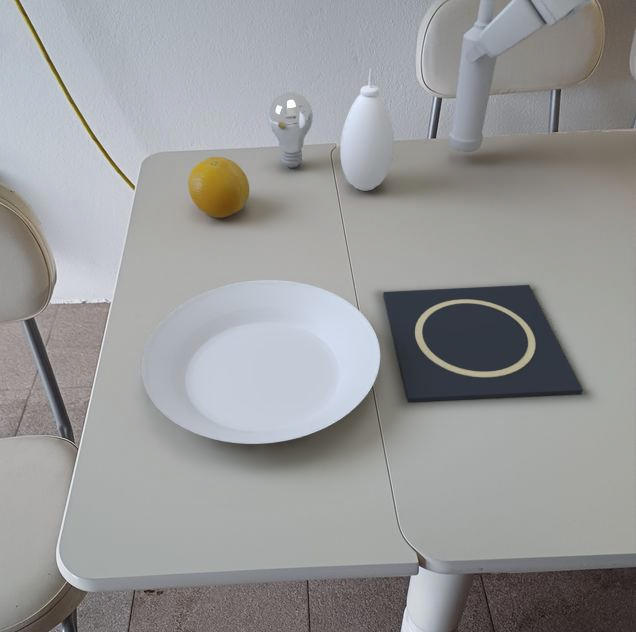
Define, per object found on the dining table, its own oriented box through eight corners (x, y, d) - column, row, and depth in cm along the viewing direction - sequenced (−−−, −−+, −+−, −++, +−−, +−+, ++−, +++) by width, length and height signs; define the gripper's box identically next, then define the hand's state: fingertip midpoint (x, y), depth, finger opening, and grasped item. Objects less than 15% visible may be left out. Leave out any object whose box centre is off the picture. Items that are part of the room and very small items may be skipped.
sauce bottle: (384, 203, 96) (393, 80, 84) (334, 197, 98) (335, 76, 86) (394, 178, 102) (404, 60, 89) (346, 173, 104) (349, 56, 91)
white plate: (397, 323, 76) (400, 299, 74) (346, 494, 59) (347, 470, 56) (202, 289, 82) (199, 266, 80) (104, 435, 65) (96, 411, 63)
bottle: (446, 151, 102) (471, -28, 86) (449, 137, 106) (474, -37, 89) (479, 154, 101) (511, -27, 84) (482, 140, 105) (513, -36, 88)
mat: (528, 288, 80) (529, 283, 79) (581, 393, 67) (583, 388, 66) (383, 295, 80) (383, 290, 80) (407, 402, 67) (408, 397, 66)
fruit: (260, 205, 97) (257, 155, 92) (233, 231, 92) (227, 180, 87) (211, 193, 100) (205, 144, 95) (181, 218, 95) (173, 168, 90)
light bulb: (299, 181, 102) (297, 106, 94) (262, 171, 105) (257, 98, 97) (321, 162, 107) (320, 89, 98) (285, 154, 109) (282, 82, 101)
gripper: (564, -56, 90) (482, 13, 100) (529, -22, 77) (439, 54, 87) (589, -17, 91) (506, 47, 101) (559, 22, 78) (467, 92, 88)
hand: (475, 51), depth 94 cm, fingers closed on bottle, 5 cm apart
